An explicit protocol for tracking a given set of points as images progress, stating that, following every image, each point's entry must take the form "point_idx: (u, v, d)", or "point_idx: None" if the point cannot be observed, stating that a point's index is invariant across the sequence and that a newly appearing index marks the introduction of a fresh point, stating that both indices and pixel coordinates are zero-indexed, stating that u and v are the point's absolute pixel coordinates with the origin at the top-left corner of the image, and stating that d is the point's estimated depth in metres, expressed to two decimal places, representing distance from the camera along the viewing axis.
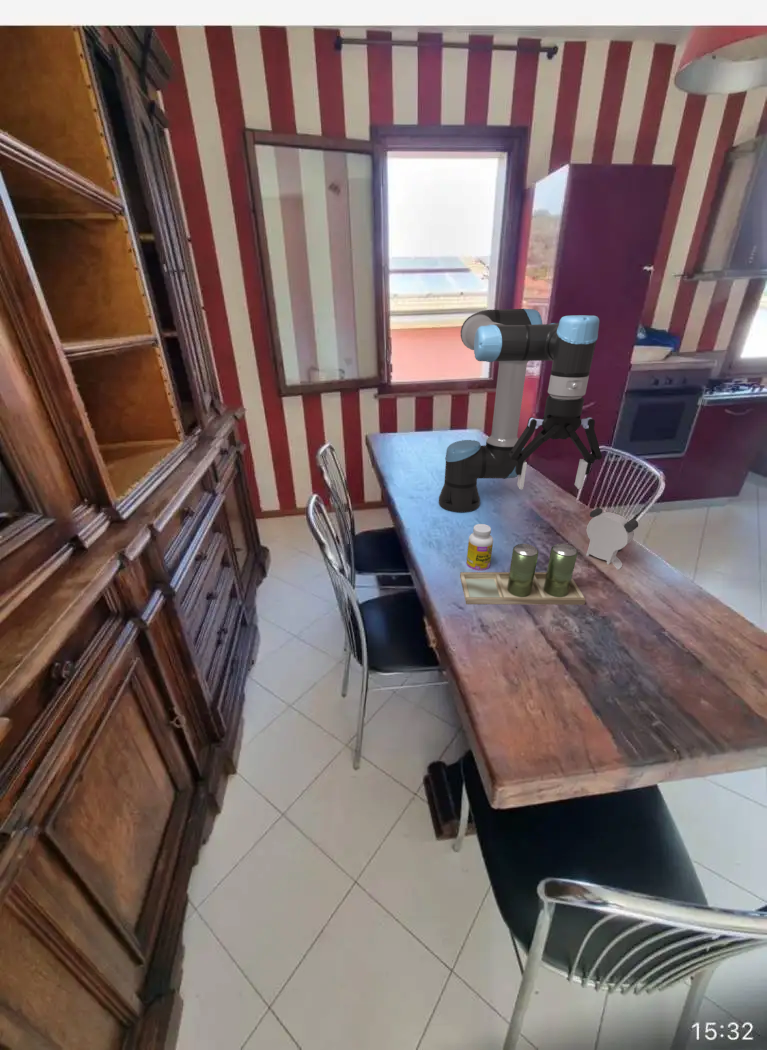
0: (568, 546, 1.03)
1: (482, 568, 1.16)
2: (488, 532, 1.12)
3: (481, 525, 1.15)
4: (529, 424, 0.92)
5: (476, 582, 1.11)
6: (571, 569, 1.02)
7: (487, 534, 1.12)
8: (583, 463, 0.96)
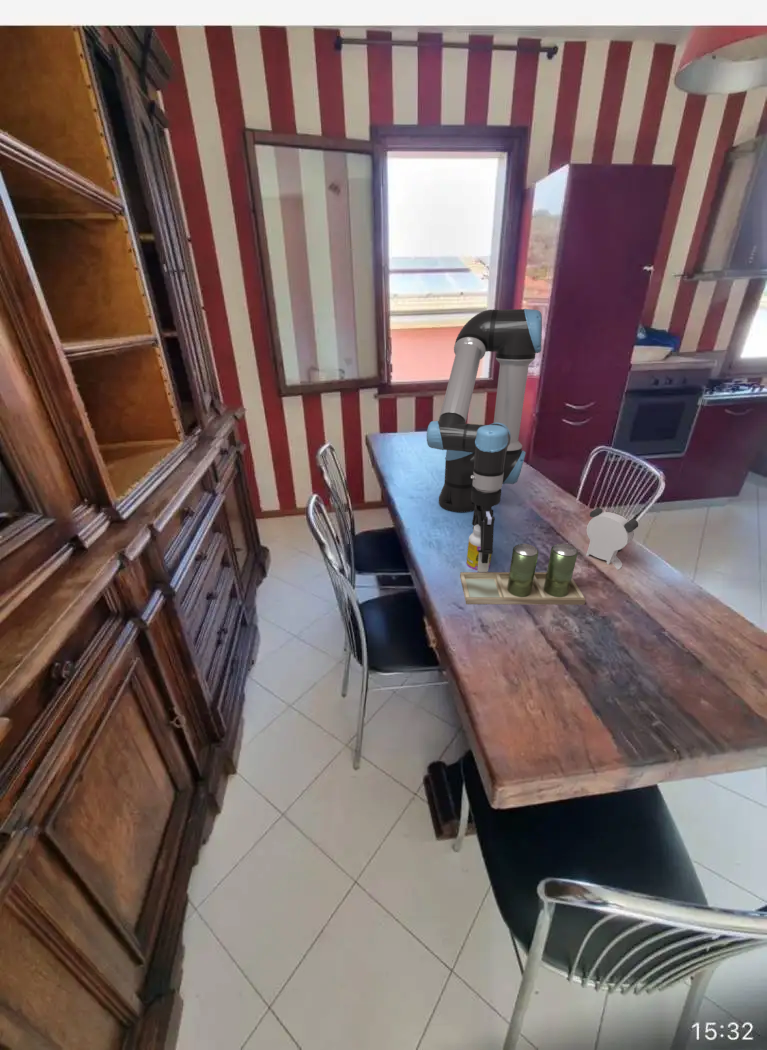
0: (568, 546, 1.03)
1: None
2: None
3: None
4: None
5: (476, 582, 1.11)
6: (571, 569, 1.02)
7: None
8: None
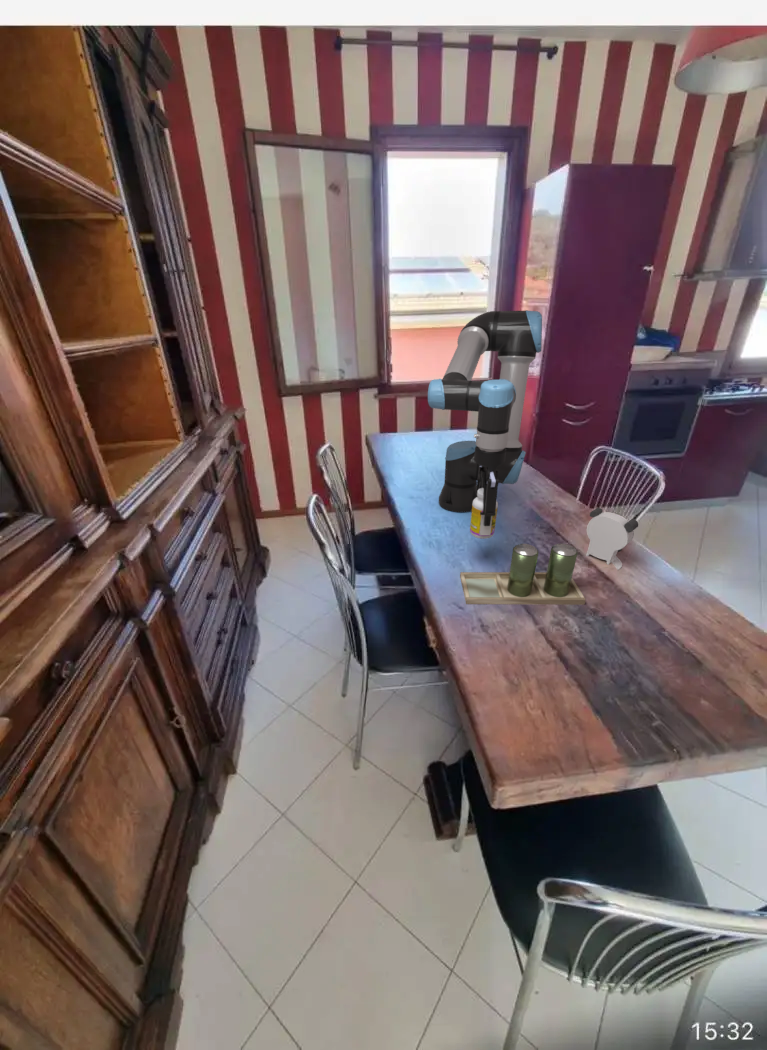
0: (568, 546, 1.03)
1: None
2: None
3: None
4: None
5: (476, 582, 1.11)
6: (571, 569, 1.02)
7: None
8: None
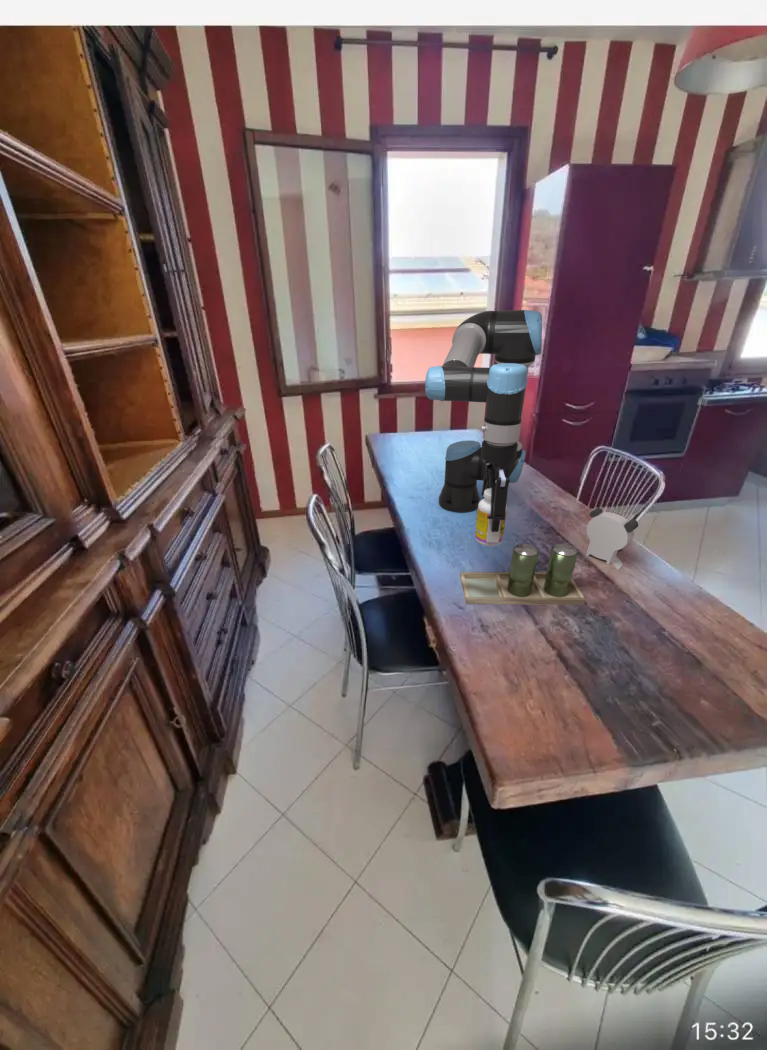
0: (568, 546, 1.03)
1: None
2: None
3: None
4: None
5: (476, 582, 1.11)
6: (571, 569, 1.02)
7: None
8: None
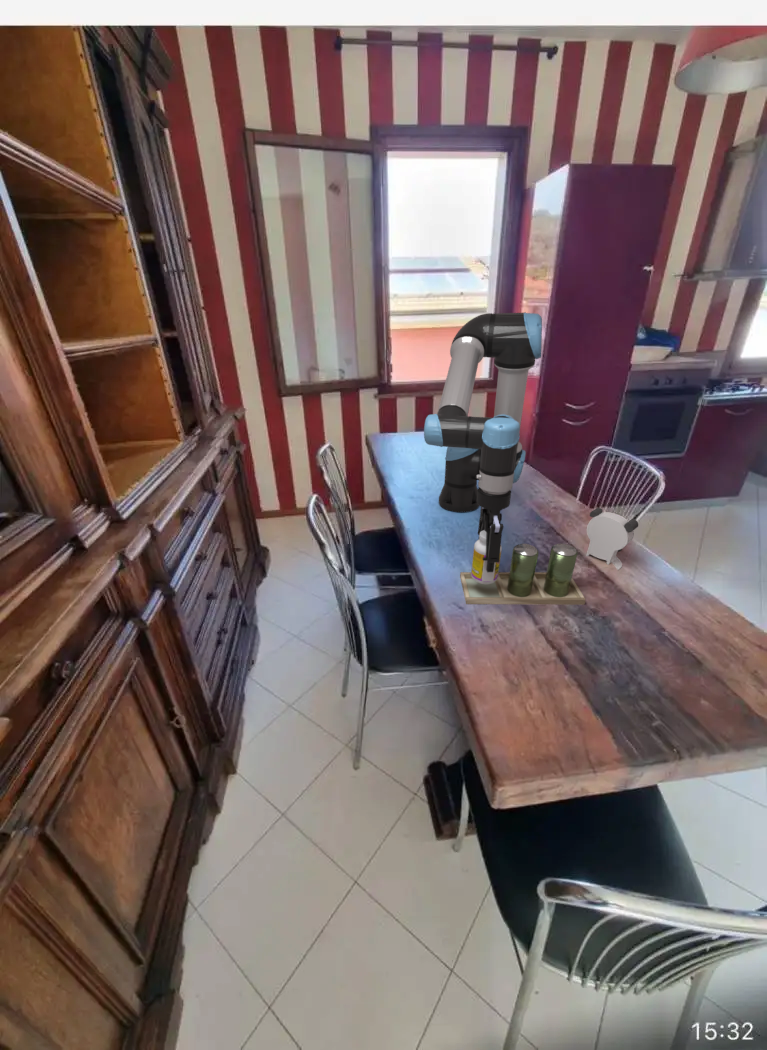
0: (568, 546, 1.03)
1: None
2: None
3: None
4: None
5: (476, 582, 1.11)
6: (571, 569, 1.02)
7: None
8: None
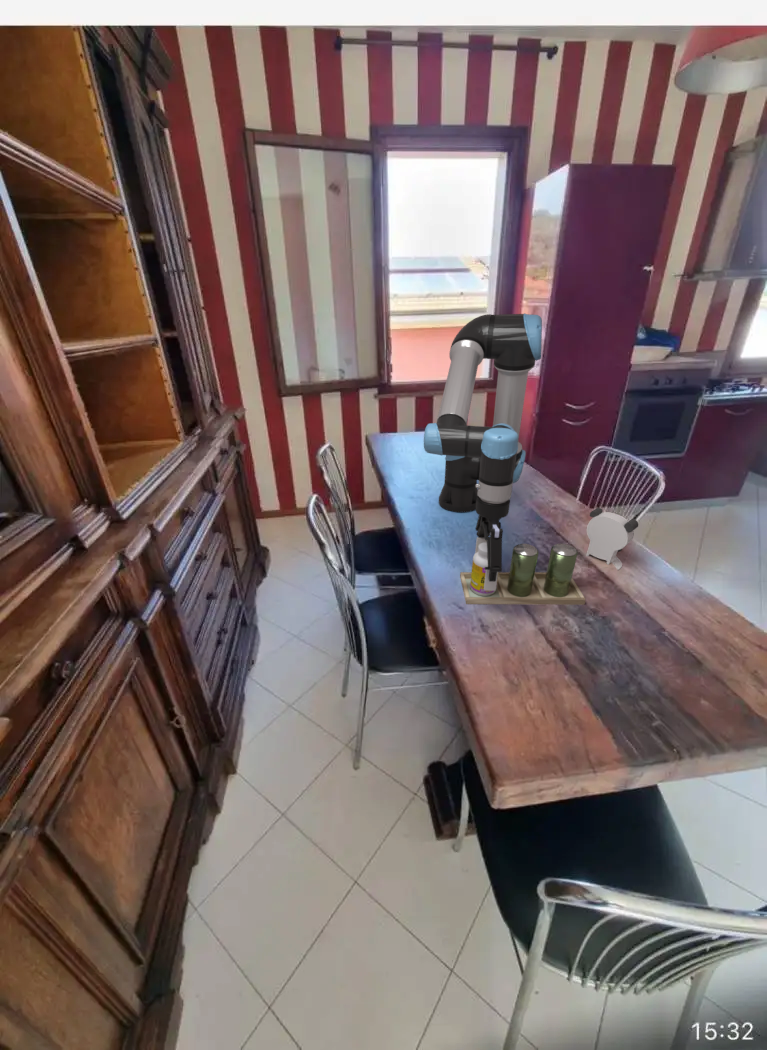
0: (568, 546, 1.03)
1: (487, 591, 1.05)
2: None
3: None
4: None
5: None
6: (571, 569, 1.02)
7: None
8: None
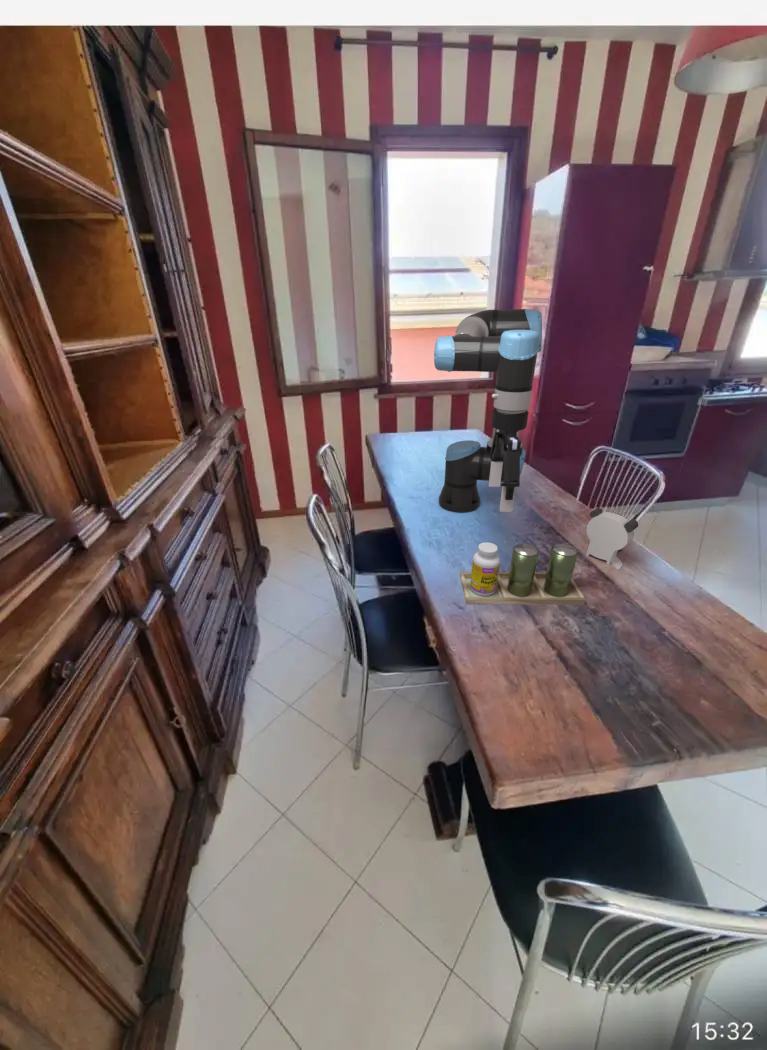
0: (568, 546, 1.03)
1: (487, 591, 1.05)
2: (495, 552, 1.01)
3: (487, 544, 1.04)
4: None
5: None
6: (571, 569, 1.02)
7: (493, 554, 1.01)
8: None
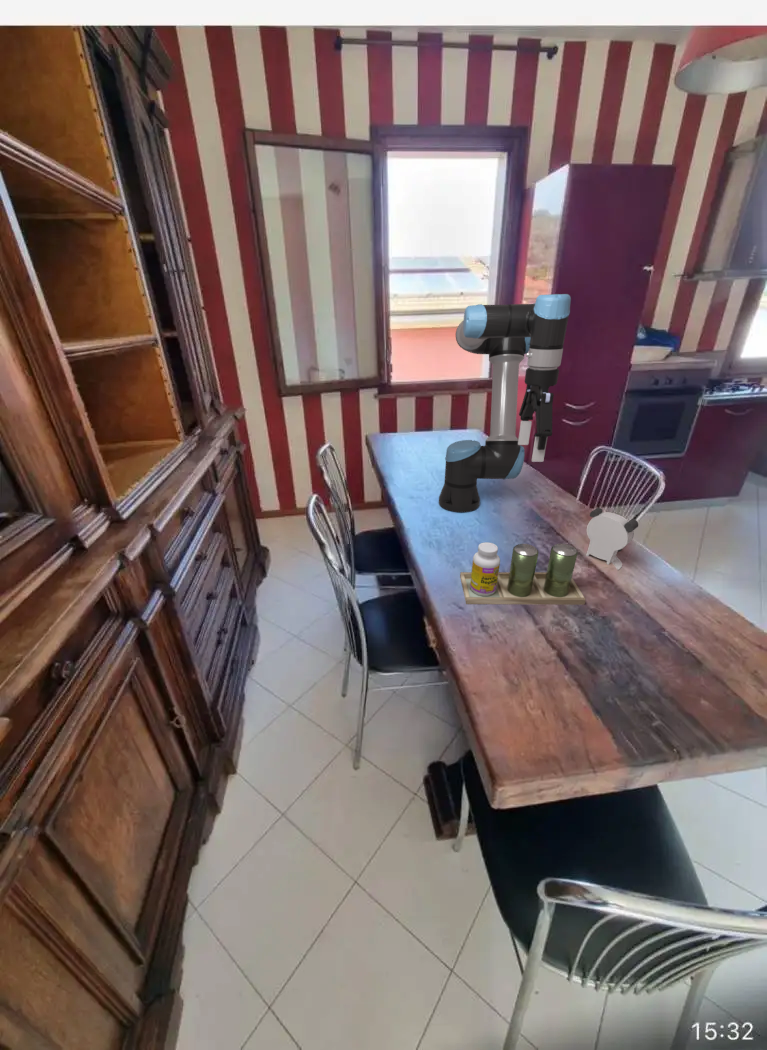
0: (568, 546, 1.03)
1: (487, 591, 1.05)
2: (495, 552, 1.01)
3: (487, 544, 1.04)
4: None
5: None
6: (571, 569, 1.02)
7: (493, 554, 1.01)
8: None
